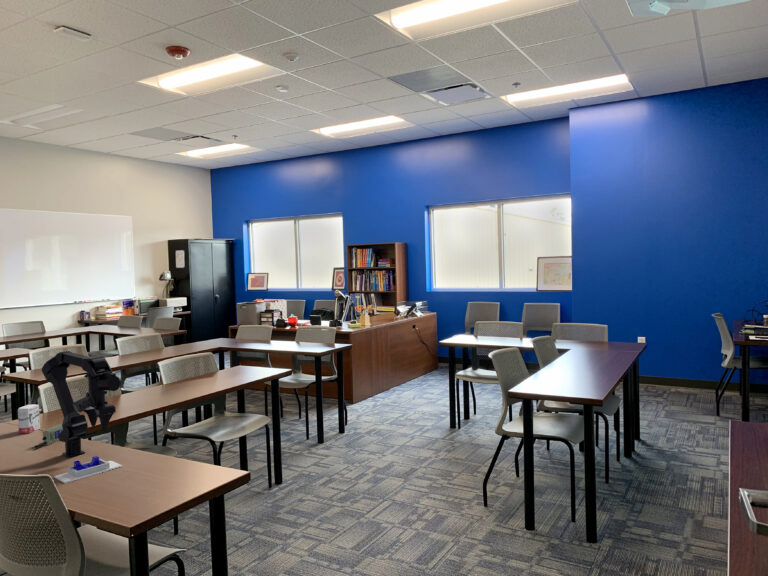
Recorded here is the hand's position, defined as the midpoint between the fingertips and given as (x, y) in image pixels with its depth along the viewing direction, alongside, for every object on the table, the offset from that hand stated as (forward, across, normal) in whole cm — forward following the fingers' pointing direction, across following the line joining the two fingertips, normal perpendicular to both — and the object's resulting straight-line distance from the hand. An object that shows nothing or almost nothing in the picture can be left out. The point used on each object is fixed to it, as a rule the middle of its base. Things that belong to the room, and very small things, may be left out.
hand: (98, 428), depth 221 cm
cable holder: (+12, +11, -9) cm, 19 cm away
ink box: (+12, -68, -3) cm, 69 cm away
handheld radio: (+12, -41, -1) cm, 43 cm away
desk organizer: (+12, +12, -9) cm, 19 cm away
